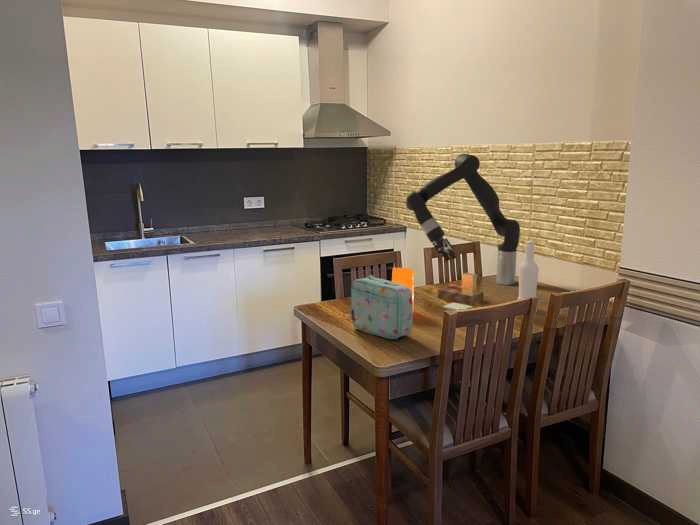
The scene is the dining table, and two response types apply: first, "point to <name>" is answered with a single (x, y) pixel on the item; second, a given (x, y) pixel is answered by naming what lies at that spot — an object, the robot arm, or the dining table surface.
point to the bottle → (528, 273)
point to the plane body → (459, 294)
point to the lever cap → (469, 284)
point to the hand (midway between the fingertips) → (451, 259)
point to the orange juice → (404, 278)
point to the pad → (456, 306)
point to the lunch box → (381, 307)
